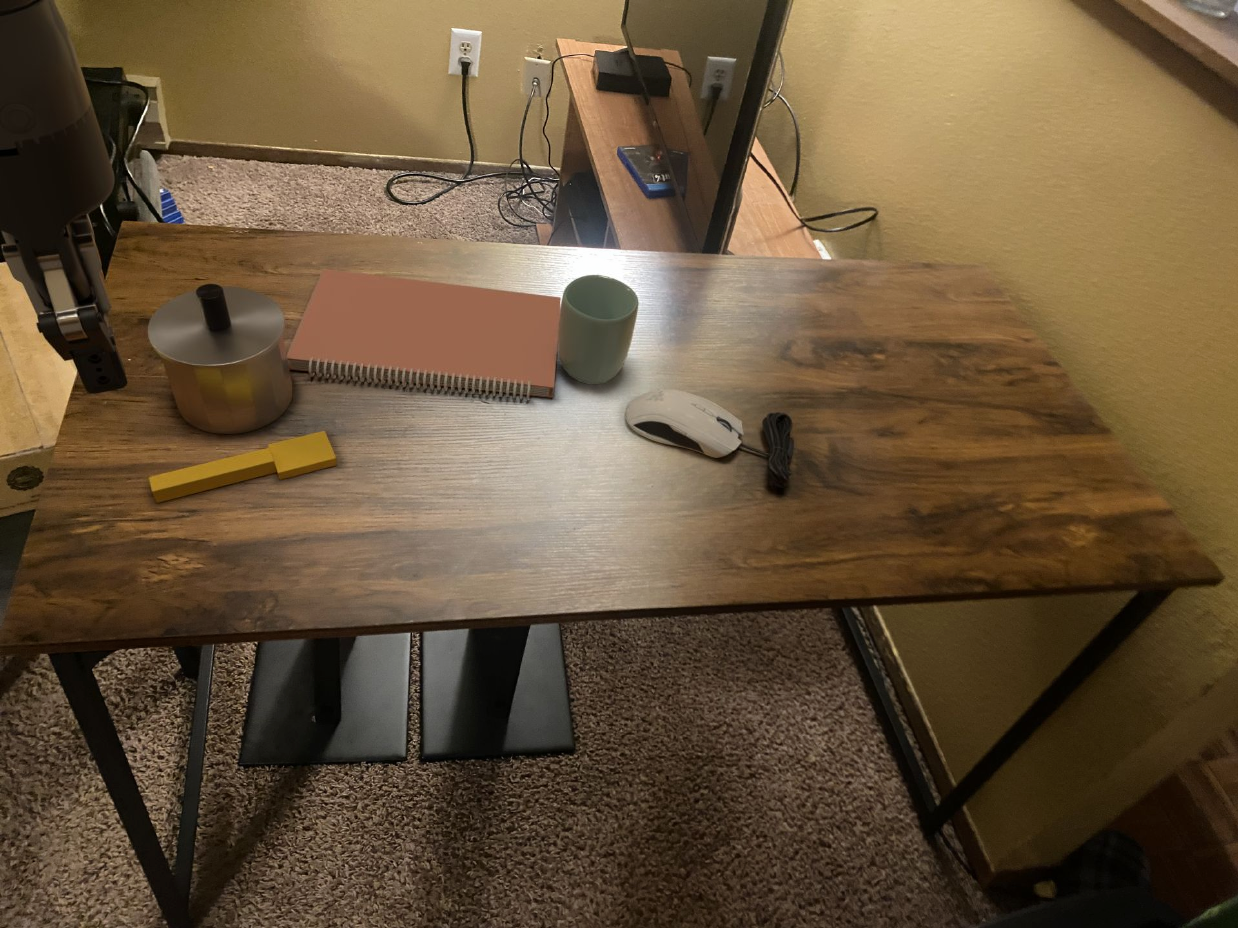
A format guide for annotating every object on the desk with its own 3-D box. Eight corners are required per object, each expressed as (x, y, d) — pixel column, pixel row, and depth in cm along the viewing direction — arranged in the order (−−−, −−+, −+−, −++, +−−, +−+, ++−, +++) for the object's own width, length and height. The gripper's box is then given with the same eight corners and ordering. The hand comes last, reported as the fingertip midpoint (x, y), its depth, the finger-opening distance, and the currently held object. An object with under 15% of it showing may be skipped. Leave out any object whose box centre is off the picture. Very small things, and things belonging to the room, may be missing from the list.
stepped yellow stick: (158, 511, 72) (153, 499, 70) (151, 480, 74) (146, 468, 72) (337, 465, 78) (335, 453, 77) (325, 437, 80) (324, 426, 79)
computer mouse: (635, 385, 92) (641, 358, 89) (795, 433, 91) (807, 406, 88) (611, 446, 85) (617, 418, 82) (784, 498, 84) (796, 471, 81)
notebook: (284, 377, 85) (282, 362, 83) (324, 281, 96) (322, 266, 95) (551, 406, 88) (553, 392, 86) (559, 309, 99) (560, 295, 98)
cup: (637, 369, 94) (652, 296, 87) (599, 405, 89) (612, 331, 82) (580, 338, 96) (591, 265, 89) (540, 372, 91) (548, 297, 84)
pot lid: (162, 387, 71) (148, 344, 67) (140, 308, 77) (126, 265, 74) (301, 359, 76) (294, 317, 72) (269, 286, 82) (262, 245, 78)
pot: (189, 446, 77) (166, 377, 71) (168, 374, 83) (146, 305, 76) (304, 418, 81) (293, 351, 75) (277, 353, 87) (264, 285, 81)
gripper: (-111, 40, 39) (24, 329, 52) (-111, 181, 32) (46, 477, 45) (71, 33, 43) (156, 307, 55) (108, 160, 35) (197, 442, 48)
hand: (107, 383), depth 50 cm, fingers closed
